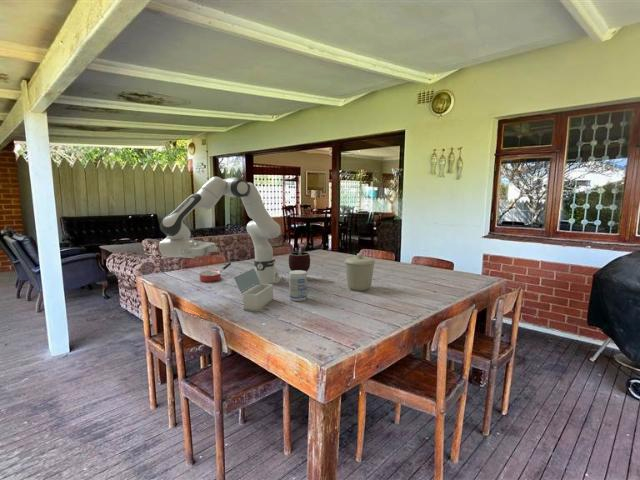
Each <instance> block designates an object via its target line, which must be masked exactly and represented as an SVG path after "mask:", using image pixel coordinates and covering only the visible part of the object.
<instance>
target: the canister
mask: <svg viewBox="0 0 640 480" xmlns="http://www.w3.org/2000/svg"><path fill="white" fill-rule="evenodd" d="M343 262H344V264H345V273H346V284H347V287H348V289H350V290H353V291H359V292H360V291H366V290H367V291H368V290H369V289H371V286H372V282H373V276H374V275H373V274H374V268H375V263H376V260H374V259H373V258H371V257H367V256H364V255H363V253H359V252H358V253H357V254H356V256H351V257H347V258H346V259H345V260H344V261H343Z"/></svg>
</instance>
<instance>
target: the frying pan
mask: <svg viewBox="0 0 640 480" xmlns="http://www.w3.org/2000/svg"><path fill="white" fill-rule="evenodd" d="M231 264H232V263H231V262H229V263H227V264H226V265H224V266H223V267H222V268H221V269H219V270H218V271H217V270H209V271H203V272H200V273H199V281H200V282H202V283H216V282H219V281H221V278H222V275H221V273H222V271H223V270H224V271H225V270H226V269H227V268H228V267H230V266H231Z"/></svg>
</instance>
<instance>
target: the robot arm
mask: <svg viewBox="0 0 640 480" xmlns="http://www.w3.org/2000/svg"><path fill="white" fill-rule="evenodd" d="M221 197H228V198H240V199H241V202H242V204H243V206H244V209H245V211H246V213H247V216H248V217H249V218H250V221H248V223H247V224H246V232H247V234H248V235H249V236H250V238H251V241H252V244H253V247H254V266H253V268H254V269H255V271H256V274H257V276H258V278H259V280H260V281H259V282H260V284H272V285H274V284H279V283H280V281H281V280H282V279H283V276H282V275H279V268H277V266H276V265H275V263H276V259H275V258H274V254H273V253H274V250H273V246H272V245H271V243H270V241H269V240H272V239H275V238H276V239H277V238H278V237H279V236H280V234H281V231H282V229H281V225H280V224H279V223H278V222H276V220H274V219H273V218H272V216H271V215H270V213H269V212H268V211H267V209H266V207H265V204H264V203H263V200H262V198H261V194H260V193H259V190H258V189H257V187H256V186H255V184H254V183H252V182H248V181H246V180H245V179H244V178H241V177H233V176H232V177H224V178H221V177H220V176H212V177H211V178H209V179H208V180H207V181H206V182H205V183H204V184H203V185H202V186H201V188H200V189H198V191H197V192H196V193H192V194H190V195H189V196H188V197H187V198H186V199H185V200H184V201H183V202H181V204H180V205H178V206H177V208H175V209H174V210H173V211H172V212H171V213H169V214H167V215H166V216H165V217H163V218H162V220H161V222H160V226H159V227H160V228H159V229H160V231H161V232H162V233H163V234H164V235H166V237H165V238H163V240H161V241H159V244H158V250H159V253H160V254H161V255H162V256H163V257H166V258H181V257H182V258H183V259H185V258H189V259H191V258H192V259H194V258H196V257H202V256H204V255H207V254H209V253H213V252H215V253H216V252H218V251H219V249H220V248H219V247H217V244H216V243H215V242H211V241H209V242H208V241H201V240H195V239H193V240H192V239H191V236H192V233H191V231H190V229H189V227H188V226H187V225H186V224H185V223H184V219H186V218H187V216H189V214H190V213H191V212H192V211H193V210H196V209H200V210H204V211H205V210H211V209H212V208H214V207H215V206H216V204H217V203H218V202H219V201H220V200H221ZM251 219H252V220H251ZM257 283H258V282H257ZM255 284H256V283H255Z"/></svg>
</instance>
